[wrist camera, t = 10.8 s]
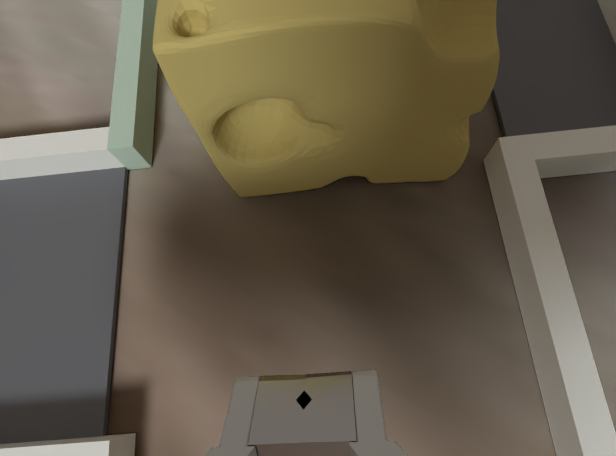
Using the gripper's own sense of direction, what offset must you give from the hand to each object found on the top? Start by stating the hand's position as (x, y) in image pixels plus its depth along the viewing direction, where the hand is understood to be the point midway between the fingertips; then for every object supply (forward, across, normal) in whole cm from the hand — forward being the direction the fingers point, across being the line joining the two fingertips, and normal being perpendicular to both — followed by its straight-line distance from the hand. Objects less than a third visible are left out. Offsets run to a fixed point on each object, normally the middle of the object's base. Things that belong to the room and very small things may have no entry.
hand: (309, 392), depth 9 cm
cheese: (+16, -1, -3) cm, 16 cm away
